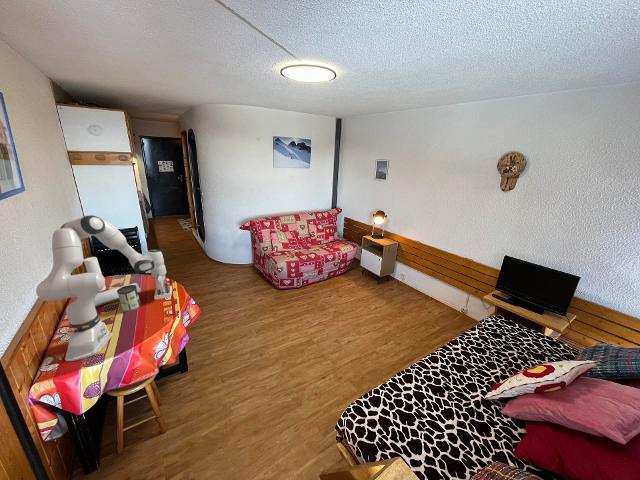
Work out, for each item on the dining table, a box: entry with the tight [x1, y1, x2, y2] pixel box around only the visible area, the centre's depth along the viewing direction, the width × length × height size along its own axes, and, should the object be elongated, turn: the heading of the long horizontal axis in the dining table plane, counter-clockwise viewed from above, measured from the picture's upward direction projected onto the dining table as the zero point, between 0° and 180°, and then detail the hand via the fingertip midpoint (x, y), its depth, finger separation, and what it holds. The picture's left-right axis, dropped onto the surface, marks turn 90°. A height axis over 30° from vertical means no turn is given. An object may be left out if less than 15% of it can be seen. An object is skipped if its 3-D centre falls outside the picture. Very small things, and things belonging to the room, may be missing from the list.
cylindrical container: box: [83, 256, 107, 293], centre depth 189 cm, size 7×7×25 cm
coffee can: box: [117, 284, 142, 313], centre depth 169 cm, size 10×10×14 cm
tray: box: [94, 282, 142, 308], centre depth 182 cm, size 17×31×4 cm, turn 133°
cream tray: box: [153, 285, 173, 301], centre depth 186 cm, size 12×10×3 cm
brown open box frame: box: [157, 278, 169, 295], centre depth 185 cm, size 6×6×10 cm
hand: (162, 289), depth 185 cm, fingers closed on brown open box frame, 5 cm apart
